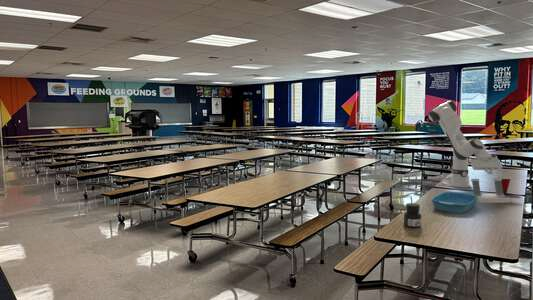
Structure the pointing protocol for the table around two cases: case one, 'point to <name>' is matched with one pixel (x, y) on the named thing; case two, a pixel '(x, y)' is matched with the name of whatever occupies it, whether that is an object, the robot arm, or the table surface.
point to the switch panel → (492, 199)
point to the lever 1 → (476, 187)
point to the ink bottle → (412, 216)
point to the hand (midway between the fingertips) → (490, 173)
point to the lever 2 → (498, 186)
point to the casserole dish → (454, 202)
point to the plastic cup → (505, 183)
